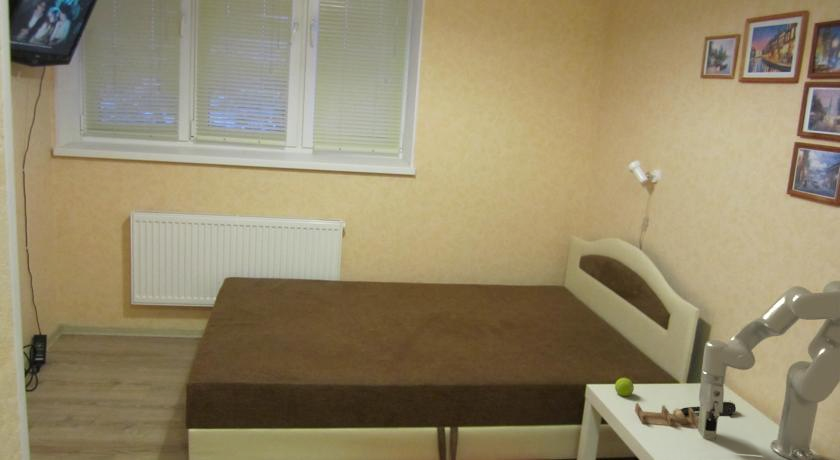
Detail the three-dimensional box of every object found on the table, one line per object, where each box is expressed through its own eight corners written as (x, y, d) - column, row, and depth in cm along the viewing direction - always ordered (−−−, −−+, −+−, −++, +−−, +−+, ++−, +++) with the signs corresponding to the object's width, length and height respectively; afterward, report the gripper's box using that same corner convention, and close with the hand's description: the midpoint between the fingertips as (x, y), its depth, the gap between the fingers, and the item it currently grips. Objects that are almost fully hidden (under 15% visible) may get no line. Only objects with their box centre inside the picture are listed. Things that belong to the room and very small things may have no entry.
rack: (699, 430, 231) (700, 420, 231) (641, 425, 232) (643, 415, 232) (689, 417, 241) (691, 407, 240) (634, 412, 242) (635, 403, 242)
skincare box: (715, 440, 224) (720, 407, 222) (702, 439, 224) (706, 406, 222) (709, 431, 230) (713, 399, 228) (696, 430, 231) (700, 398, 228)
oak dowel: (688, 425, 233) (687, 417, 232) (679, 425, 233) (679, 417, 233) (681, 416, 240) (681, 408, 239) (673, 416, 240) (673, 408, 239)
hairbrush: (670, 402, 245) (725, 396, 252) (669, 412, 245) (724, 405, 252) (685, 413, 237) (742, 406, 244) (684, 422, 238) (740, 415, 245)
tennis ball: (613, 390, 260) (615, 373, 259) (632, 393, 258) (634, 376, 257) (614, 397, 254) (616, 380, 252) (632, 400, 252) (635, 383, 250)
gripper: (734, 388, 214) (727, 438, 218) (715, 367, 231) (708, 415, 235) (710, 386, 215) (704, 437, 218) (693, 366, 232) (687, 413, 235)
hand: (706, 425), depth 227 cm, fingers closed on skincare box, 6 cm apart
